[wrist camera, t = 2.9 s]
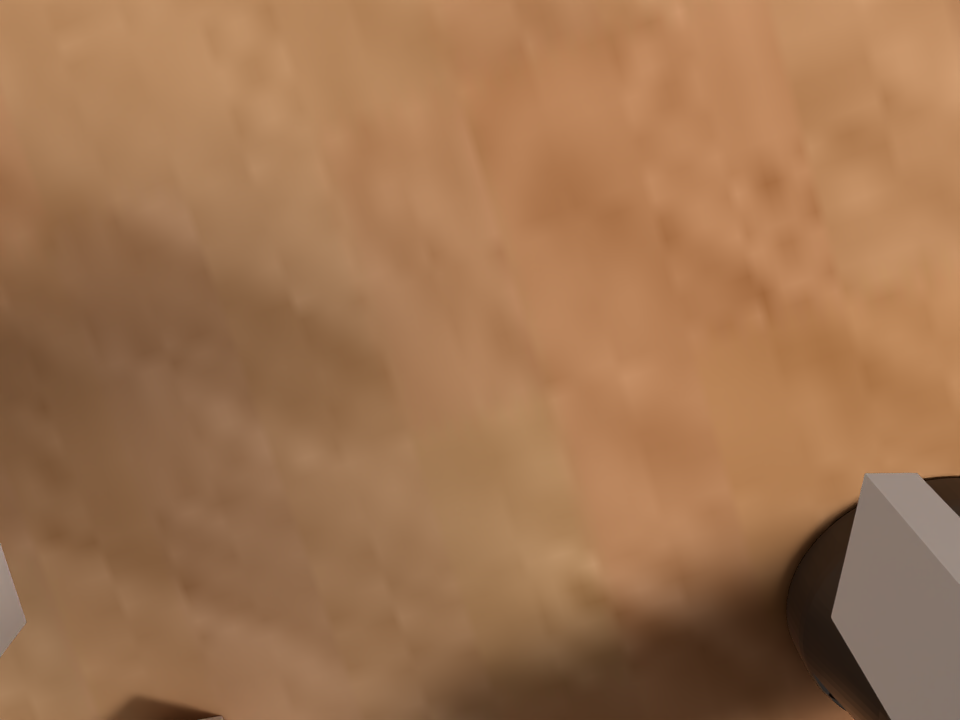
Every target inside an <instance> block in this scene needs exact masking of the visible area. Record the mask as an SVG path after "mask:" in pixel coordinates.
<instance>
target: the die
mask: <svg viewBox="0 0 960 720" xmlns="http://www.w3.org/2000/svg"><path fill="white" fill-rule="evenodd" d="M199 720H224V719H223V717H222V716H218V717H212V718H206V719H199Z"/></svg>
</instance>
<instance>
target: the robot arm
mask: <svg viewBox="0 0 960 720" xmlns="http://www.w3.org/2000/svg"><path fill="white" fill-rule="evenodd" d="M25 624H26V619H25V616H24V613H23V610H22V607H21V604H20V601H19V598H18V595H17V592H16V589H15V586H14V583H13V580H12V577H11V574H10V571H9V568H8V565H7V562H6V559H5V556H4V553H3V550H2V547H1V544H0V657H1V656H2V654H3V653H4V652H5V650H6V649H7V648H8V646H9V645H10V644H11V642H12V641H13V640H14V638H15V637H16V636H17V634H18V633H19V632H20V630H21V629H22V628H23V626H24V625H25ZM787 624H788V628H789V632H790V635H791V638H792V640H793V643H794V645H795V647H796V649H797V651H798V653H799V655H800V657H801V659H802V661H803V663H804V665H805V667H806V668H807V670H808V672H809V674H810V675H811V677H812V678H813V680H814V681H815V682H816V684H817V685H818V686H819V688H820V689H821V690H822V691H823V692H824V693H825V694H826V695H827V696H828V697H829V698H830V699H832V700H833V701H834V702H835V703H836V704H837V705H839V706H840V707H841V708H843V709H844V710H846V711H847V712H848V713H849V714H850V715H851V716H852V717H853V718H854V719H855V720H960V478H944V479H935V480H928V481H924V480H923V479H922V478H921V477H920V476H919V475H918V474H917V473H865V476H864V480H863V484H862V488H861V492H860V497H859V501H858V505H857V507H856V508H855V509H853V510H852V511H850V512H849V513H847V514H846V515H844V516H843V517H842V518H840V519H839V520H838V521H836V522H835V523H834V524H833V525H832V526H830V527H829V528H828V529H827V530H826V531H825V532H824V533H823V534H822V535H821V536H820V537H819V538H818V539H817V540H816V542H815V543H814V544H813V545H812V546H811V548H810V549H809V550H808V552H807V553H806V555H805V556H804V558H803V559H802V561H801V563H800V564H799V566H798V568H797V570H796V572H795V574H794V577H793V579H792V582H791V585H790V589H789V593H788V598H787Z"/></svg>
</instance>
